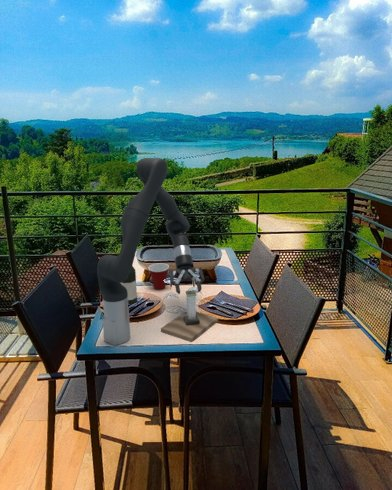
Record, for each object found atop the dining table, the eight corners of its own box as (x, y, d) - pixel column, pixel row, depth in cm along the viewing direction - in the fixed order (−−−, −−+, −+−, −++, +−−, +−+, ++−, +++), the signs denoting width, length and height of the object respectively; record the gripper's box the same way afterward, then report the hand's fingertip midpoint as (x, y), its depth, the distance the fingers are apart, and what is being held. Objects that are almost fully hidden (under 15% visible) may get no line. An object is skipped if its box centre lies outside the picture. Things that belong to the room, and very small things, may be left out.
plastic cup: (146, 291, 186) (145, 269, 183) (152, 283, 196) (151, 262, 193) (167, 292, 184) (166, 270, 181) (172, 284, 194) (171, 263, 191)
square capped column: (199, 323, 148) (199, 294, 145) (186, 325, 147) (185, 295, 144) (196, 317, 154) (196, 289, 150) (183, 319, 152) (182, 290, 149)
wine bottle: (134, 309, 166) (130, 246, 158) (117, 308, 167) (112, 245, 159) (140, 302, 174) (137, 241, 166) (124, 300, 175) (119, 240, 167)
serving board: (191, 341, 138) (191, 338, 137) (160, 331, 146) (160, 328, 145) (218, 320, 154) (218, 317, 153) (188, 312, 162) (188, 309, 161)
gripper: (167, 255, 153) (173, 290, 145) (200, 252, 156) (207, 287, 149) (166, 263, 160) (171, 297, 152) (197, 260, 163) (204, 294, 155)
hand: (189, 292), depth 150 cm, fingers open, 8 cm apart
